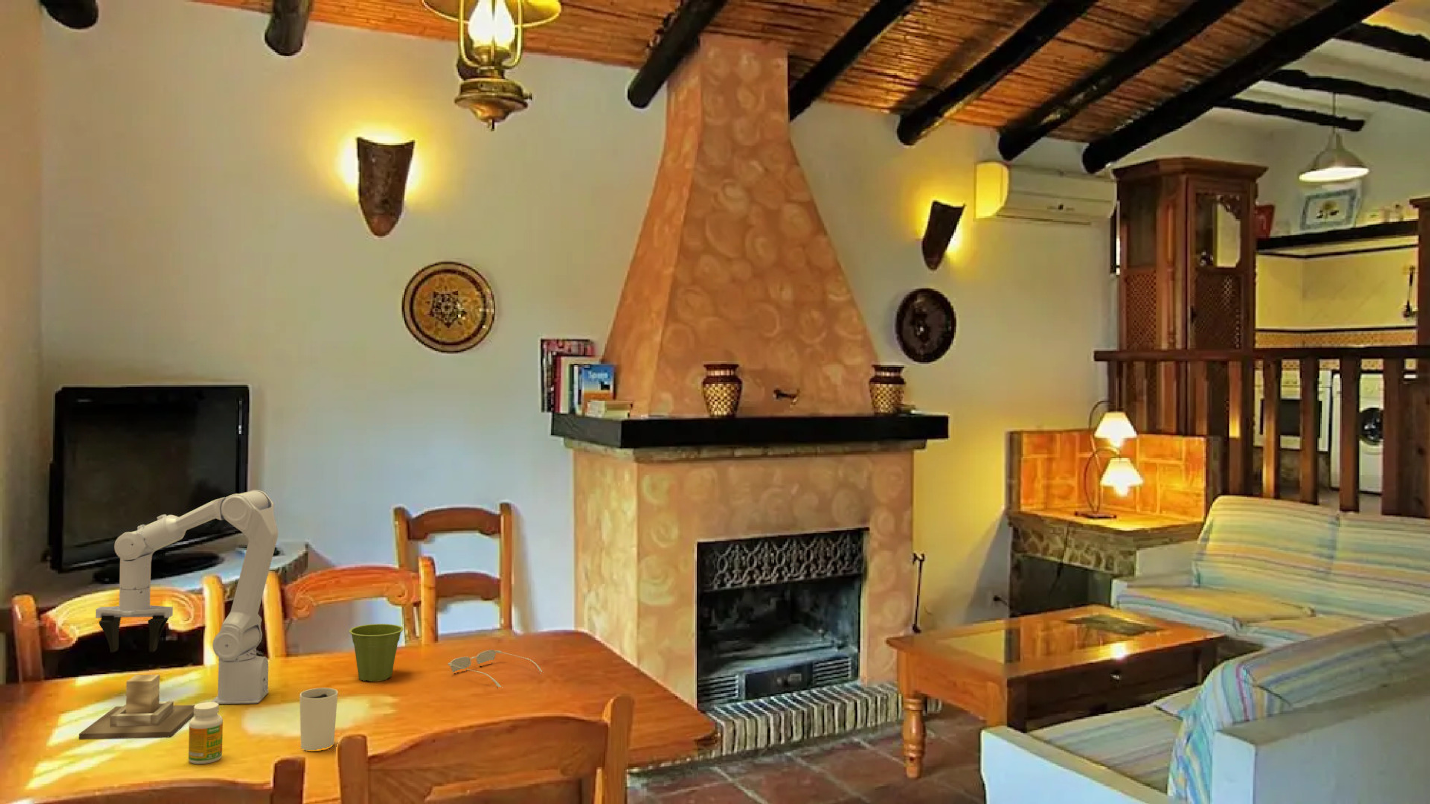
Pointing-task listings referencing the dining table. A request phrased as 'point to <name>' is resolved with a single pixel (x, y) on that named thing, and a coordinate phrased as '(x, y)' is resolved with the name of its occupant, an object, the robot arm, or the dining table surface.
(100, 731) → the square peg socket base
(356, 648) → the plant pot
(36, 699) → the dining table surface
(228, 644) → the robot arm
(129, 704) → the birch peg
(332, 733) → the beige cup
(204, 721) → the supplement bottle
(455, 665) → the eyeglasses
